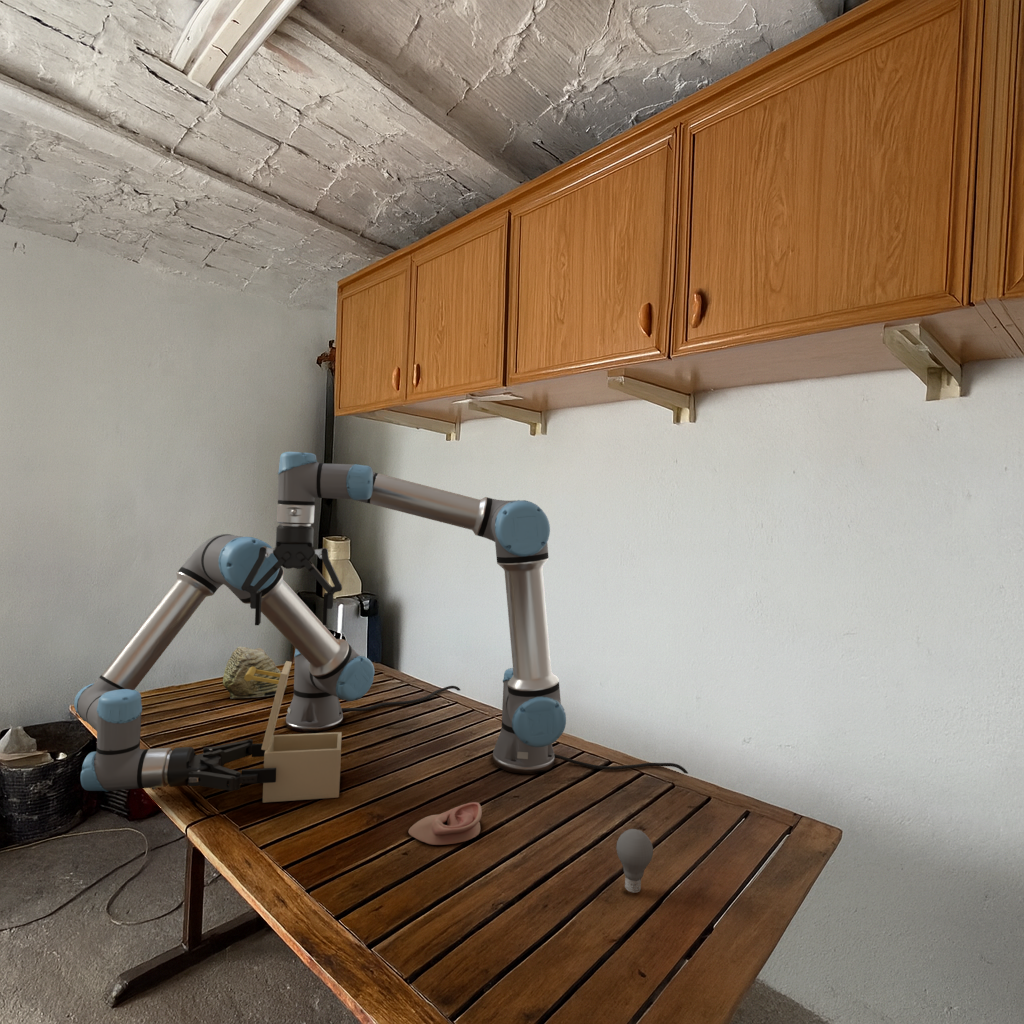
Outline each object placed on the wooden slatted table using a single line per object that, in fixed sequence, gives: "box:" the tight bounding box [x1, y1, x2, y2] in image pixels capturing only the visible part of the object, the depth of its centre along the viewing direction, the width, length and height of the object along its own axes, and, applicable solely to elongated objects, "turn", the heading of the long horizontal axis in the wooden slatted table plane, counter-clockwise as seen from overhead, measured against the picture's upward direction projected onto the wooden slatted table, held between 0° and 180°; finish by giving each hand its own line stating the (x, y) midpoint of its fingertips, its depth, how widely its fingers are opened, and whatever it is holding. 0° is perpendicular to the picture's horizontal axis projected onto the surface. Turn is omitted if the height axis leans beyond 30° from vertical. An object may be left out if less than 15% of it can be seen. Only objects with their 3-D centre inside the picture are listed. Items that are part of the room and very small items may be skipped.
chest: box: [262, 731, 343, 803], centre depth 137 cm, size 15×10×10 cm
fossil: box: [222, 646, 288, 699], centre depth 198 cm, size 9×18×15 cm, turn 132°
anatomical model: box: [407, 801, 483, 846], centre depth 122 cm, size 13×4×12 cm
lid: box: [244, 660, 293, 750], centre depth 134 cm, size 16×10×8 cm
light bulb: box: [615, 828, 654, 894], centre depth 106 cm, size 6×6×10 cm
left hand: (279, 761), depth 136 cm, fingers open, 13 cm apart
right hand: (291, 624), depth 135 cm, fingers open, 13 cm apart
